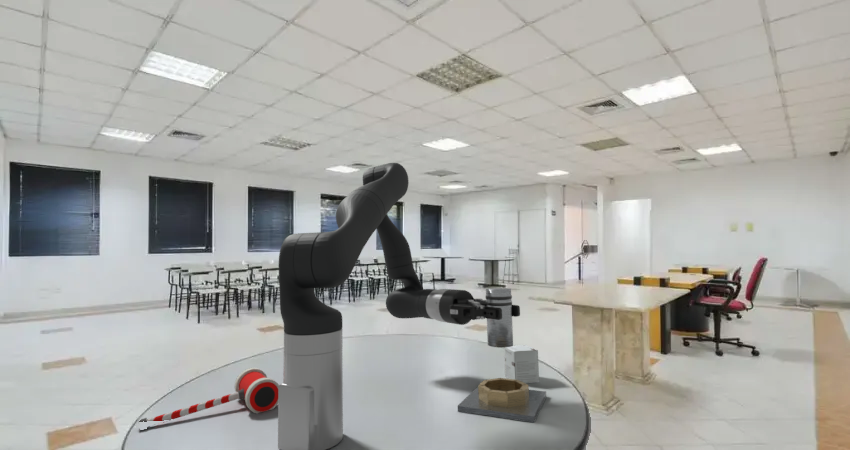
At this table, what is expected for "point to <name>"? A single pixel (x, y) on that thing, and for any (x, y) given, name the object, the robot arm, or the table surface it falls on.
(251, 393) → the toy hammer
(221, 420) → the table surface
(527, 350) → the skincare box
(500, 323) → the piston
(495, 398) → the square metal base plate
